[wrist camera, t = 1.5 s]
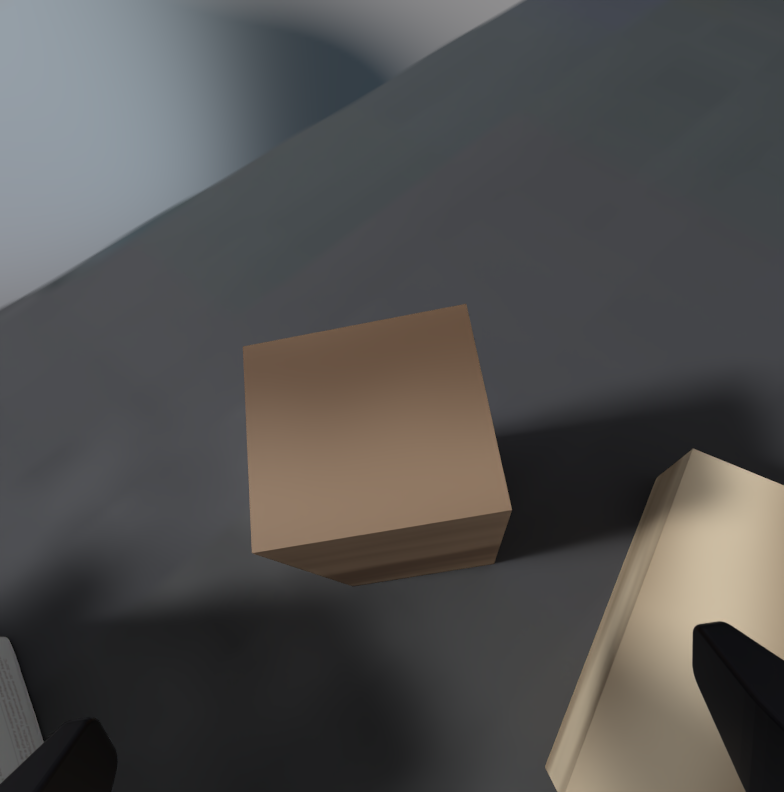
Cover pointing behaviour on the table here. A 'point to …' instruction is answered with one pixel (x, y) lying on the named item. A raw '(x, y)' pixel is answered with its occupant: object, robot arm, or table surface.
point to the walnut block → (374, 450)
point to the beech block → (674, 633)
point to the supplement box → (15, 714)
